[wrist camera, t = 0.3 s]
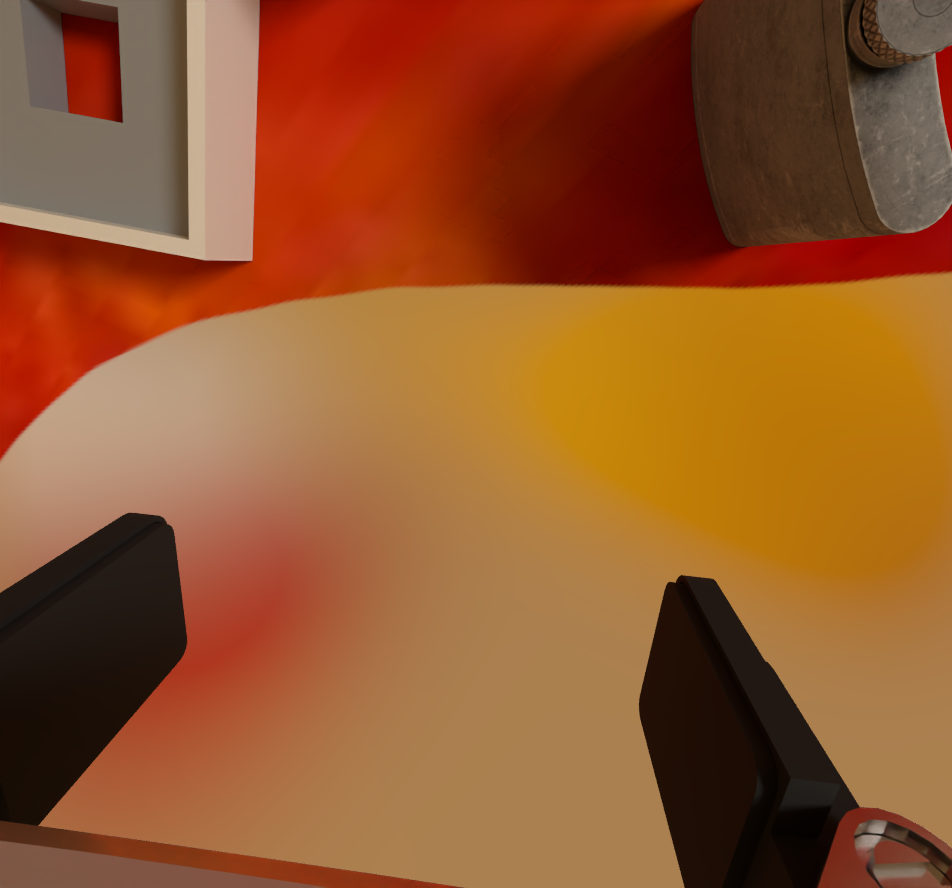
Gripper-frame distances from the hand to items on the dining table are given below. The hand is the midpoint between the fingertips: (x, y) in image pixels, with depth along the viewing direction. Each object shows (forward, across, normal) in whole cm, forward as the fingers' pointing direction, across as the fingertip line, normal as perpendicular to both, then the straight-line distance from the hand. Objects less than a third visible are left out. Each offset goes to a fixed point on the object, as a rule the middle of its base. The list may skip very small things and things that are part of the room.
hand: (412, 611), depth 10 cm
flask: (+31, -13, -15) cm, 37 cm away
